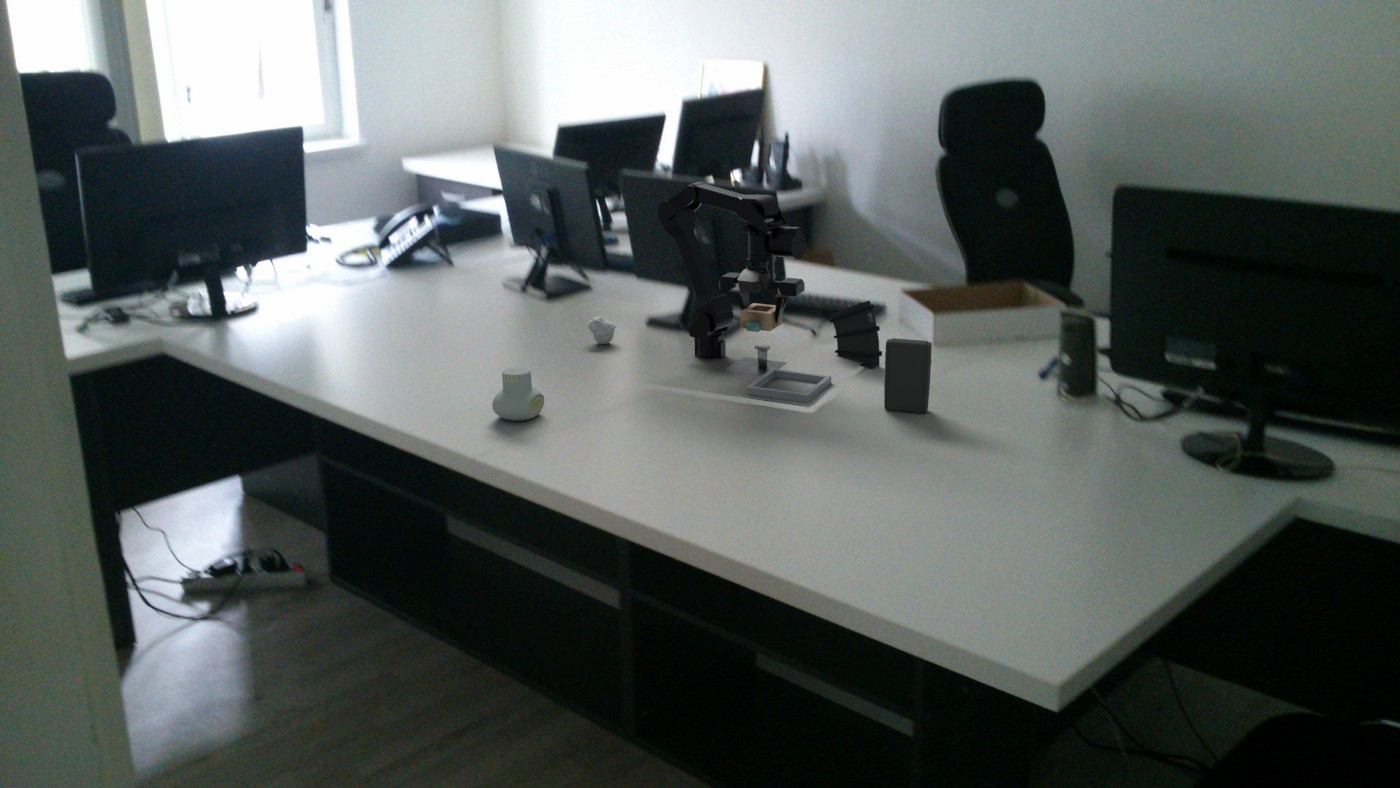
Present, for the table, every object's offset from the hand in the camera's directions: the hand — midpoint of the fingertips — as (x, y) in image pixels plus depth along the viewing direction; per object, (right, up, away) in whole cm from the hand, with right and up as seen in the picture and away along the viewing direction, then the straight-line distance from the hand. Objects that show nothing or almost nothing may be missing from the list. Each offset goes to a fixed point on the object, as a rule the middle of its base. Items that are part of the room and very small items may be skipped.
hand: (761, 321), depth 270 cm
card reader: (+29, -20, -22) cm, 41 cm away
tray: (+6, -16, -10) cm, 20 cm away
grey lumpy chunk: (-38, -4, +27) cm, 47 cm away
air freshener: (-51, -21, -21) cm, 60 cm away
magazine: (+22, -9, +10) cm, 26 cm away
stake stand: (-1, -11, +5) cm, 12 cm away
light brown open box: (0, -1, 0) cm, 1 cm away
